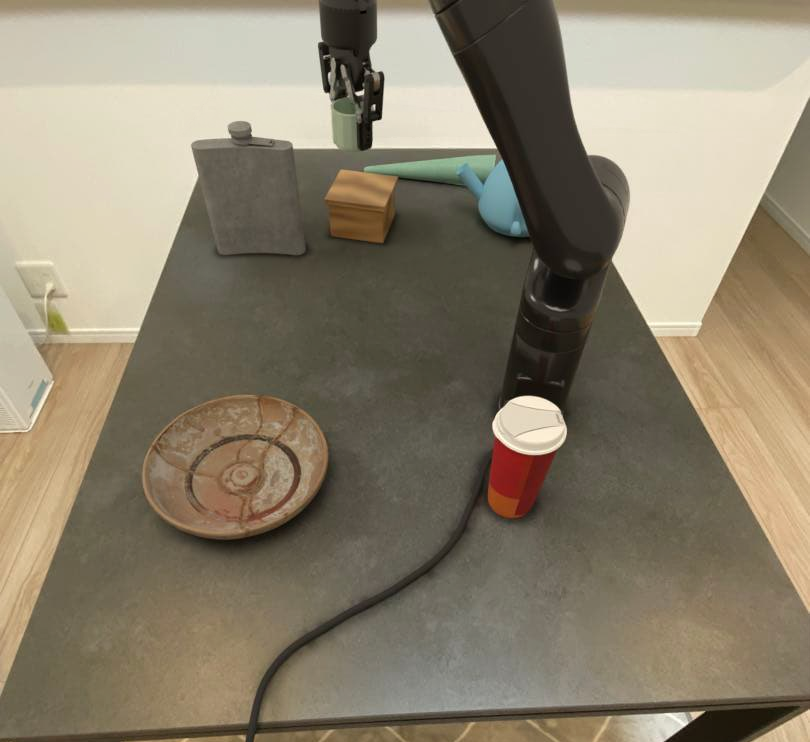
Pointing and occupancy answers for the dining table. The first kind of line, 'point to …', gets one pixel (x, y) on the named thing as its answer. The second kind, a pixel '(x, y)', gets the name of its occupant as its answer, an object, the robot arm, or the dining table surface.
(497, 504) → the coffee cup
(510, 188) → the teapot
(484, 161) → the mint green cone
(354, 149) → the pale green cup
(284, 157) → the hip flask
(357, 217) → the riser
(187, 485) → the ceramic bowl
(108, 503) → the dining table surface
